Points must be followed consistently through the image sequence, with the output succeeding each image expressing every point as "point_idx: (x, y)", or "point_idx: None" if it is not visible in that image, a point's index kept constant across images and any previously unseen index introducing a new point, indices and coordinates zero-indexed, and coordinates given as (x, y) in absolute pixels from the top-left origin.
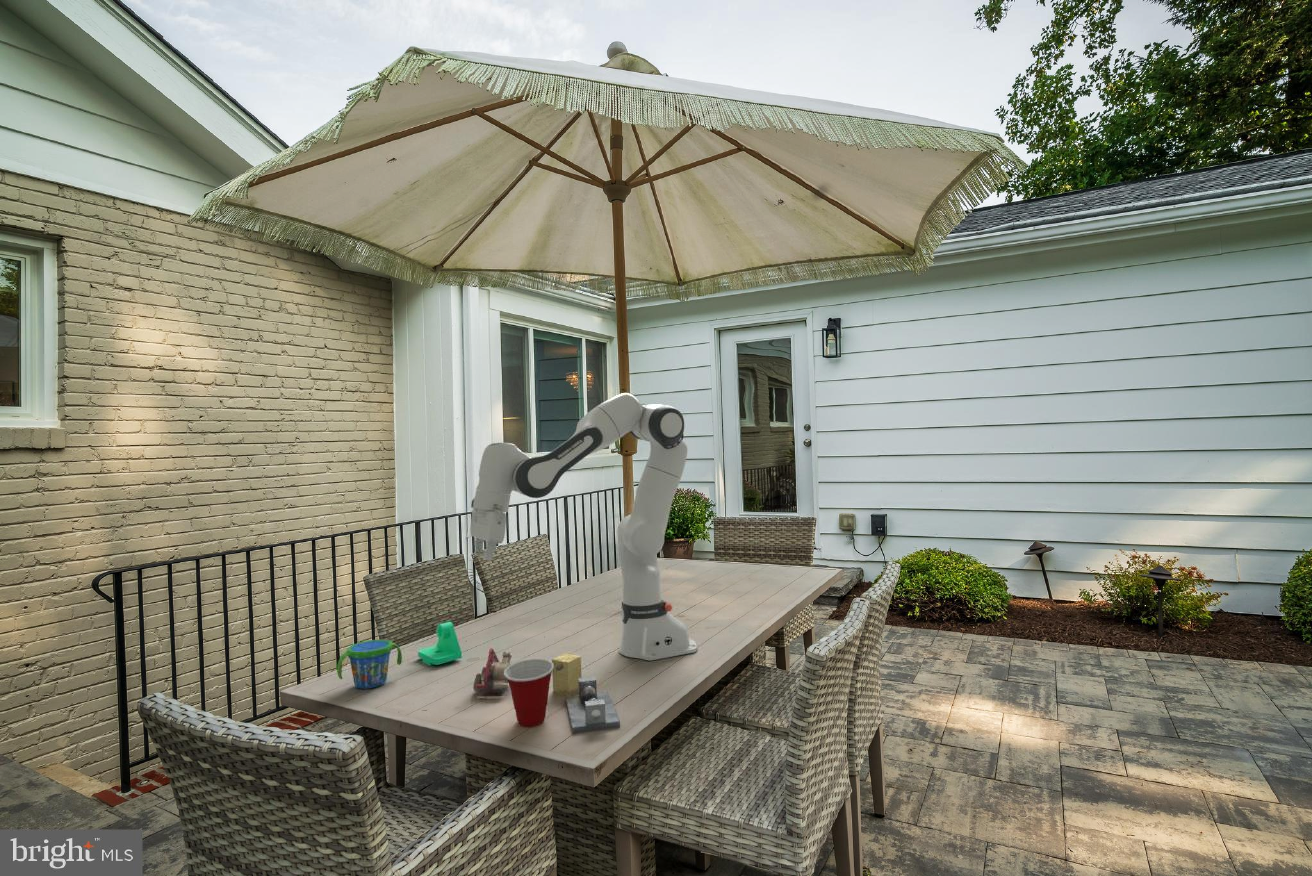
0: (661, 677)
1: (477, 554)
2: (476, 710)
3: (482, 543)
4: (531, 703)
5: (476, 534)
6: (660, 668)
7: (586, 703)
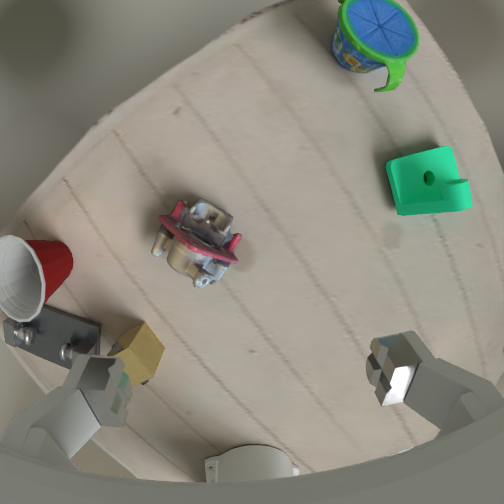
0: (140, 445)
1: (374, 349)
2: (128, 191)
3: (439, 424)
4: (20, 262)
5: (428, 472)
6: (172, 456)
7: (8, 325)
